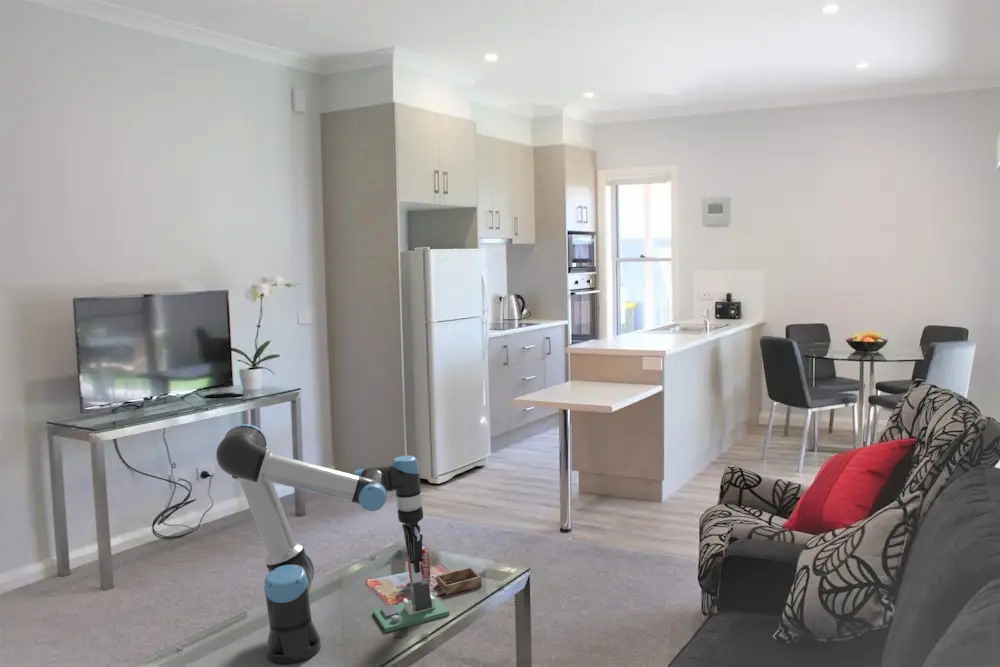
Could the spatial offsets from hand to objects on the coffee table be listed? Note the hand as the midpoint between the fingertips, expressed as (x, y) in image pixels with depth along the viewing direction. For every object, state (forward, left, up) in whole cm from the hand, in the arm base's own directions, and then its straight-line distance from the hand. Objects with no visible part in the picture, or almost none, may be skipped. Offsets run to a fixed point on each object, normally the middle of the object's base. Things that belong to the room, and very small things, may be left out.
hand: (417, 581), depth 256 cm
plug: (+1, 0, -9) cm, 9 cm away
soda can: (+7, +21, -10) cm, 24 cm away
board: (-3, 0, -10) cm, 10 cm away
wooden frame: (+17, +11, -10) cm, 23 cm away
